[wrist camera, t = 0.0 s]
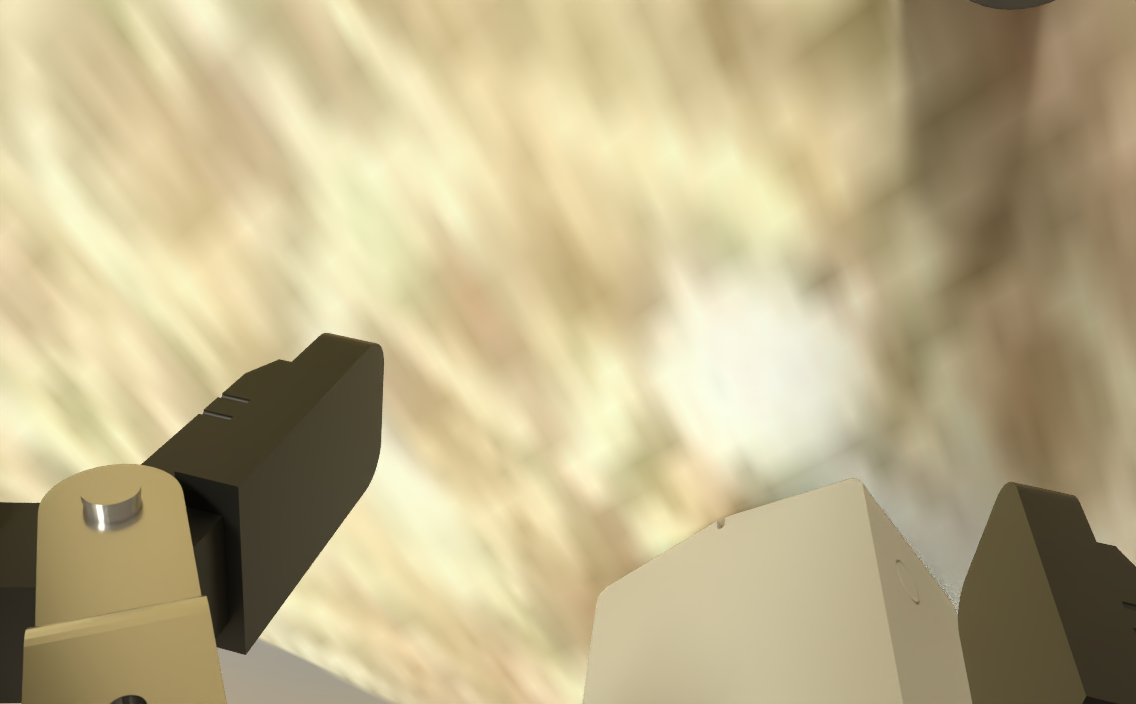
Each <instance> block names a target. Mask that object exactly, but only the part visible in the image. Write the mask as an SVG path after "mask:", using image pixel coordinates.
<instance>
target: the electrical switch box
mask: <svg viewBox="0 0 1136 704" xmlns="http://www.w3.org/2000/svg"><path fill="white" fill-rule="evenodd" d="M582 704H972V699H971V694H970V688H969V683H968V678H967V673H966V668H965V662H964V657H963V652H962V647H961V642H960V637H959V630H958V616H957V613H956V610H955V608H954V605H953V604H952V603H951V601H950V600H949V598H948V597H947V595H946V594H945V593H944V591H943V590H942V588H941V587H940V586H939V584H938V583H937V581H936V580H935V579H934V578H933V577H932V575H931V574H930V573H929V571H928V570H927V569H926V567H925V566H924V565H923V563H922V562H921V561H920V559H919V558H918V557H917V555H916V554H915V553H914V551H913V550H912V549H911V547H910V546H909V545H908V543H907V542H906V541H905V539H904V538H903V537H902V535H901V534H900V533H899V531H898V530H897V529H896V527H895V526H894V525H893V523H892V522H891V521H890V519H889V518H888V517H887V515H886V514H885V513H884V511H883V510H882V509H881V507H880V506H879V505H878V503H877V502H876V501H875V499H874V498H873V497H872V495H871V494H870V493H869V491H868V490H867V489H866V487H865V486H864V485H863V483H862V482H861V481H860V480H858V479H855V478H853V479H847V480H844V481H841V482H837V483H834V484H831V485H828V486H824V487H821V488H818V489H815V490H811V491H808V492H805V493H802V494H799V495H795V496H792V497H789V498H786V499H782V500H779V501H776V502H773V503H769V504H766V505H763V506H760V507H756V508H753V509H750V510H747V511H743V512H740V513H737V514H734V515H730V516H727V517H725V525H724V527H723V528H722V527H721V525H720V524H719V523H718V521H716V522H714V523H713V524H711V525H709V526H708V527H706V528H704V529H703V530H701V531H699V532H698V533H696V534H694V535H693V536H691V537H689V538H688V539H686V540H684V541H683V542H681V543H679V544H678V545H676V546H674V547H673V548H671V549H669V550H668V551H666V552H664V553H663V554H661V555H659V556H658V557H656V558H654V559H653V560H651V561H649V562H648V563H646V564H644V565H643V566H641V567H639V568H638V569H636V570H634V571H633V572H631V573H629V574H628V575H626V576H624V577H623V578H621V579H619V580H618V581H616V582H614V583H613V584H611V585H609V586H608V587H606V588H605V589H604V590H603V591H602V592H601V594H600V595H599V597H598V599H597V604H596V611H595V618H594V625H593V632H592V639H591V646H590V654H589V661H588V668H587V675H586V682H585V689H584V696H583V703H582Z"/></svg>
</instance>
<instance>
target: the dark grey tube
mask: <svg viewBox="0 0 1136 704" xmlns="http://www.w3.org/2000/svg"><path fill="white" fill-rule="evenodd" d="M970 1H972V2H974V3H977V4H980V5H982V6H986V7H991V8H996V9H1007V10H1012V9H1025V8H1031V7H1036V6H1040V5H1043V4H1046V3H1050V2H1052V1H1054V0H970Z"/></svg>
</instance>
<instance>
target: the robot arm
mask: <svg viewBox="0 0 1136 704" xmlns="http://www.w3.org/2000/svg"><path fill="white" fill-rule="evenodd" d="M383 374H384V356H383V350H382V348H381V346H380V345H379V344H377V343H372V342H367V341H363V340H358V339H354V338H349V337H344V336H340V335H335V334H330V333H324V334H322V335H320V336H319V337H318V338H317V339H316V340H315V341H314V342H313V343H312V344H310V345H309V346H308V347H307V348H306V349H305V350H304V351H303V352H302V353H301V354H300V355H299V356H298V357H297V358H295V359H294V360H293V361H292V362H289V361H284V360H280V359H279V360H277V361H274V362H272V363H269V364H267V365H265V366H262V367H260V368H257V369H255V370H253V371H250V372H248V373H245V374H244V375H243V376H242V377H241V378H239V379H238V380H237V381H236V382H235V383H234V384H233V385H231V386H230V387H229V388H228V389H227V390H226V391H225V392H223V393H222V397H221V398H219V397H218V398H217V399H215V400H214V401H213V402H212V403H211V404H210V405H209V406H207V407H206V408H205V409H204V412H203V414H198V415H197V416H196V417H195V418H194V419H193V420H191V421H190V422H189V423H188V424H187V425H186V426H185V427H183V428H182V429H181V430H180V431H179V432H178V433H177V434H175V435H174V436H173V437H172V438H171V439H170V440H169V441H167V442H166V443H165V444H164V445H163V446H162V447H161V448H159V449H158V450H157V451H156V452H155V453H154V454H153V455H151V456H150V457H149V458H148V459H147V460H146V461H145V462H143V463H142V464H141V465H137V464H117V465H107V466H102V467H97V468H93V469H89V470H86V471H83V472H80V473H77V474H75V475H73V476H71V477H69V478H67V479H65V480H63V481H61V482H60V483H58V484H57V485H55V486H54V487H53V488H52V489H51V490H50V491H48V493H47V494H46V495H45V496H44V497H43V499H42V501H41V503H5V502H0V703H22V704H227V701H226V696H225V690H224V685H223V680H222V674H221V669H220V663H219V658H218V653H217V647H219V648H222V649H226V650H229V651H233V652H237V653H240V654H244V655H246V654H247V652H248V651H249V650H250V648H251V647H252V645H253V644H254V643H255V642H256V640H257V639H258V637H259V636H260V635H261V633H262V632H263V631H264V629H265V628H266V626H267V625H268V624H269V622H270V621H271V620H272V618H273V617H274V615H275V614H276V613H277V611H278V610H279V609H280V607H281V606H282V605H283V603H284V602H285V600H286V599H287V598H288V596H289V595H290V594H291V592H292V591H293V589H294V588H295V587H296V585H297V584H298V583H299V581H300V580H301V578H302V577H303V576H304V574H305V573H306V572H307V570H308V569H309V567H310V566H311V565H312V563H313V562H314V561H315V559H316V558H317V557H318V555H319V554H320V552H321V551H322V550H323V548H324V547H325V546H326V544H327V543H328V541H329V540H330V539H331V537H332V536H333V535H334V533H335V532H336V530H337V529H338V528H339V526H340V525H341V524H342V522H343V521H344V519H345V518H346V517H347V515H348V514H349V513H350V511H351V510H352V508H353V507H354V506H355V504H356V503H357V502H358V500H359V499H360V498H361V496H362V495H363V493H364V492H365V491H366V489H367V488H368V486H369V484H370V482H371V480H372V478H373V475H374V473H375V470H376V466H377V463H378V459H379V454H380V448H381V429H382V401H383ZM958 630H959V637H960V642H961V647H962V652H963V657H964V662H965V668H966V673H967V678H968V683H969V688H970V694H971V699H972V704H1136V567H1135V566H1134V565H1133V564H1132V563H1131V562H1130V561H1129V560H1128V559H1127V558H1126V557H1125V556H1124V555H1123V554H1122V552H1121V551H1120V550H1119V549H1118V548H1117V547H1116V546H1112V545H1107V544H1103V543H1098V542H1096V540H1095V537H1094V535H1093V533H1092V530H1091V528H1090V526H1089V523H1088V521H1087V519H1086V516H1085V514H1084V512H1083V509H1082V507H1081V504H1080V502H1079V500H1078V499H1077V498H1076V497H1075V496H1073V495H1069V494H1065V493H1060V492H1055V491H1051V490H1046V489H1042V488H1037V487H1032V486H1028V485H1023V484H1018V483H1014V482H1008V483H1007V484H1005V485H1004V487H1003V488H1002V489H1001V491H1000V493H999V495H998V497H997V499H996V502H995V504H994V507H993V509H992V512H991V514H990V517H989V520H988V522H987V525H986V527H985V530H984V532H983V535H982V537H981V540H980V542H979V545H978V548H977V550H976V553H975V555H974V558H973V560H972V563H971V565H970V568H969V571H968V573H967V576H966V578H965V581H964V584H963V588H962V592H961V596H960V602H959V610H958Z"/></svg>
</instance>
